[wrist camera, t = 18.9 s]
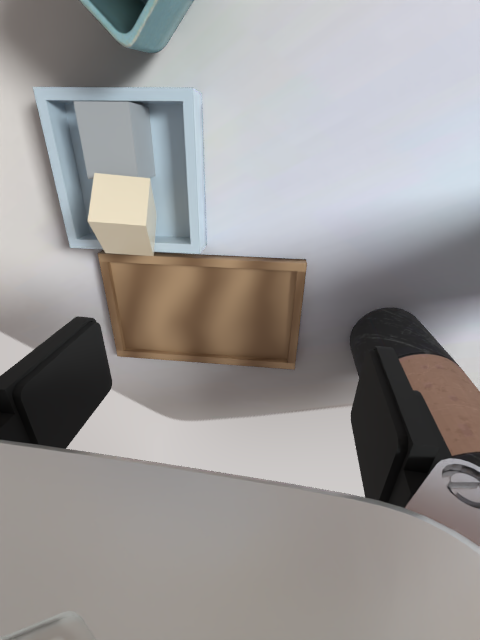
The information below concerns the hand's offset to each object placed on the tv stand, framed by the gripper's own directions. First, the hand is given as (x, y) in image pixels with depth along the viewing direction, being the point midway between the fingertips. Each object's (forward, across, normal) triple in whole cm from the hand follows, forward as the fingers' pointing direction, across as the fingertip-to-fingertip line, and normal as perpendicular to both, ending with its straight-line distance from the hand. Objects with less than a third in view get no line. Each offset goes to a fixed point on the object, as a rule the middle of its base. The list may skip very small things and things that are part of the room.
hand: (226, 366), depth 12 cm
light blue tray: (+21, +12, -4) cm, 24 cm away
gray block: (+18, +12, -9) cm, 24 cm away
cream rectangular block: (+18, +12, 0) cm, 21 cm away
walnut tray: (+21, +6, +9) cm, 24 cm away
